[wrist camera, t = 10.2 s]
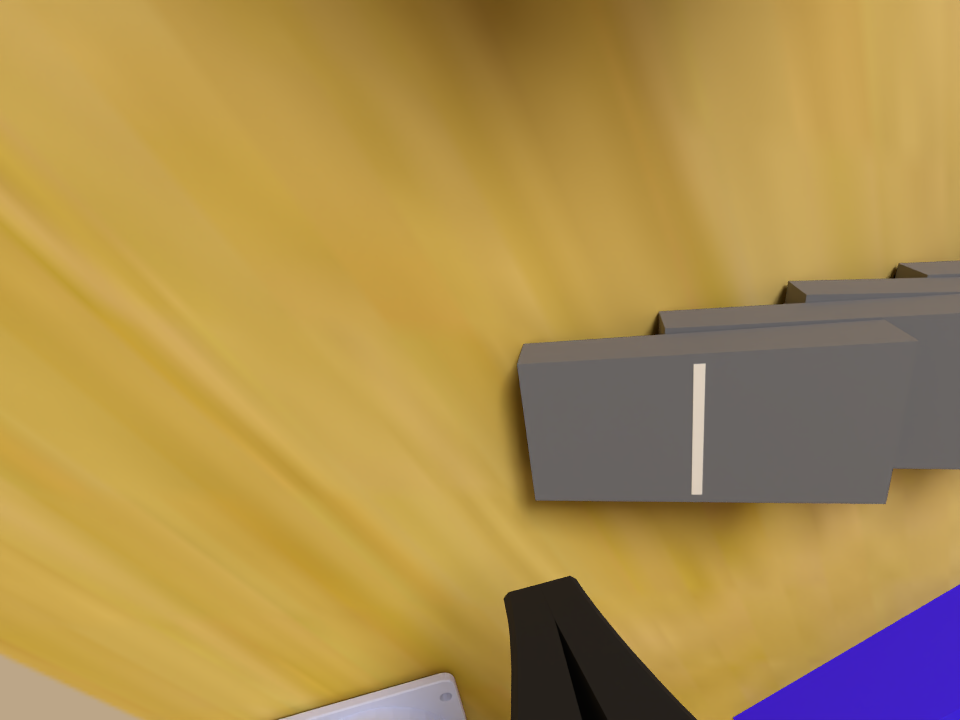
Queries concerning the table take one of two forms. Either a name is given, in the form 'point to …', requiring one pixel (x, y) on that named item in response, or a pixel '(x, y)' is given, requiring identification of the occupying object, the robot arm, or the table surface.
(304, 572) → the table surface
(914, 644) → the bracket
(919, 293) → the domino
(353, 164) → the table surface
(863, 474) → the domino
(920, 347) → the domino
